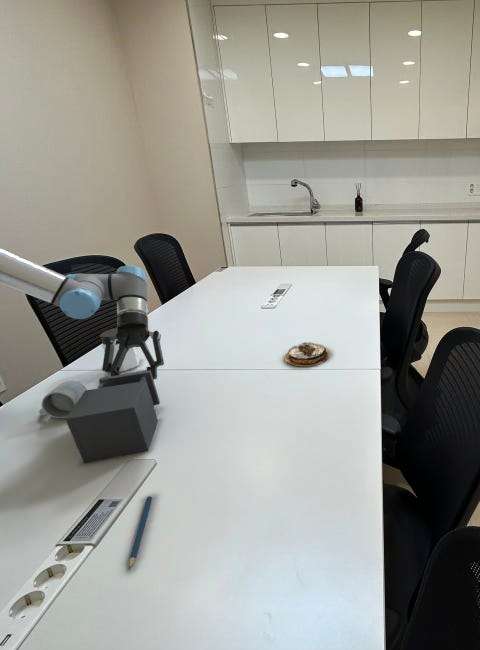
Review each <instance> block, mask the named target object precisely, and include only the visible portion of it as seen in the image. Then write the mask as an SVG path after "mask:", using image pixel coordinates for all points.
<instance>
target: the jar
mask: <svg viewBox="0 0 480 650" xmlns="http://www.w3.org/2000/svg"><path fill="white" fill-rule="evenodd" d="M116 334H117V327H115V328H114V327H113V328H111V329H107V330H105V331H103V332H102V333H100V335H99V337H100V340H101V343H102V345H101V346H102V349H103V352H104V353H105V347H106V344H105V340H104V338H105V337H109V338H110V337H114V336H116ZM119 345H120V342H119V341H118V340H117V341H116V344H115V345H114V354H113V361H114V359H115V357H116V354H117V352H118V349H119ZM140 360H141V359H140V356H139V352H138V348H137V347H133V348H129V351H128V352H127V353H126V356H125V358H124V361H123V363H122V365H121V368H120V370H119V372H126V371H129V370H131V369H134V368H136V367H139V365H140ZM113 361H112V364H113Z"/></svg>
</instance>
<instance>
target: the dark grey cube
mask: <svg viewBox="0 0 480 650" xmlns="http://www.w3.org/2000/svg"><path fill="white" fill-rule="evenodd" d="M64 419H65V421H66V422H65V423H66V424H67V427H68V429H69V431H70V433H71V436H72V438H73V441H74V443H75V445H76V448H77V450H78V452H79V455H80V457H81V460H82V462H83V464H88V463H92V462H97V461H102V460H107V459H112V458H117V457H118V458H119V457H122V456H123V457H124V456H128V455H133V454H138V453H142V452H148V451H149V450H150V447H151V443H152V440H153V437H154V434H155V432H156V428H157V425H158V422H159V419H158V417H157V413H156V409H155V405H154V406H153V403H152V400H151V396H150V393H149V390H148V387H147V383H146V381H142V382H136V383H129V384H123V385H117V386H110V387H104V388H98V387H97V388H92V389H87V390H85V392H84V393H83V395H82V396H81V397H80V399H79V400H78V402H77V403H76V405H75V406H74V407H73V409H72V410H71V412H70V413H69V415H68V416H67V417H66V418H64Z"/></svg>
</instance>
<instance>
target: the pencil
mask: <svg viewBox="0 0 480 650" xmlns="http://www.w3.org/2000/svg"><path fill="white" fill-rule="evenodd" d="M152 499H153V497H152V496H151V495H149V496H146V499H145V503H144V507H143V510H142V514H141V516H140V521H139V524H138V527H137V531H136V535H135V538H134V541H133V544H132V547H131V548H132V549H131V552H130V555H129V560H128V561H129V562H128V563H129V569H131V568H132V567H133V564H134V563H135V561H136V559H137V554H138V552H139V548H140V544H141V541H142V537H143V533H144V530H145V527H146V522H147V518H148V515H149V511H150V508H151V503H152Z"/></svg>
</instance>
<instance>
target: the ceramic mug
mask: <svg viewBox="0 0 480 650" xmlns="http://www.w3.org/2000/svg"><path fill="white" fill-rule="evenodd" d="M85 390H88V389H87V387H86V386H85V385H84V384H83V383H82V382H80V381H77V380H67V381H63V382H62V383H60V384H59V385H57V386H56V387H55V388H54V389H52V390H51V391H50V392H48V393H47V394H45V396H44V397H43V398H42V400H41V408H40V409H39V410H38V413H39V414H40V415H41V416H47V415H48V416H50V417H52V418H56V419H66V417H67V416H68V415H69V413H70V412H71V410H72V409H73V407H74V406H75V405H76V403H77V402H78V400H79V399H80V397H81V396H82V395H83V393H84V392H85Z"/></svg>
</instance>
